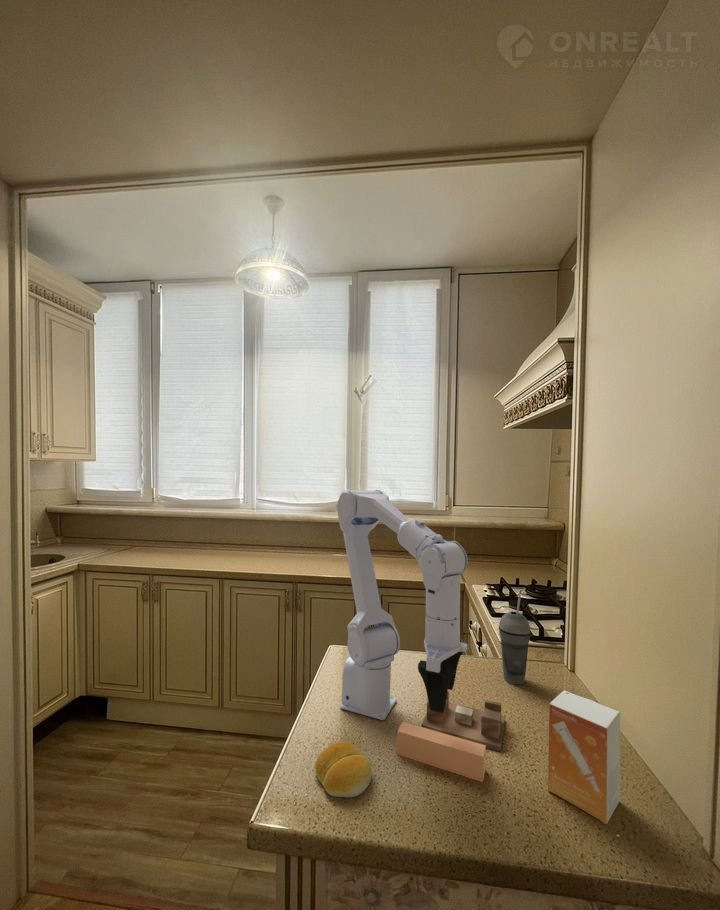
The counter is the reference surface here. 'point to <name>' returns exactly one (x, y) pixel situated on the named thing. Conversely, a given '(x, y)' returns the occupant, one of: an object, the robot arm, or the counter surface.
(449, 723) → the stand
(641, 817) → the counter surface
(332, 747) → the bread roll
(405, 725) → the bar
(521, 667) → the beverage cup
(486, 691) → the counter surface
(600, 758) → the small box
